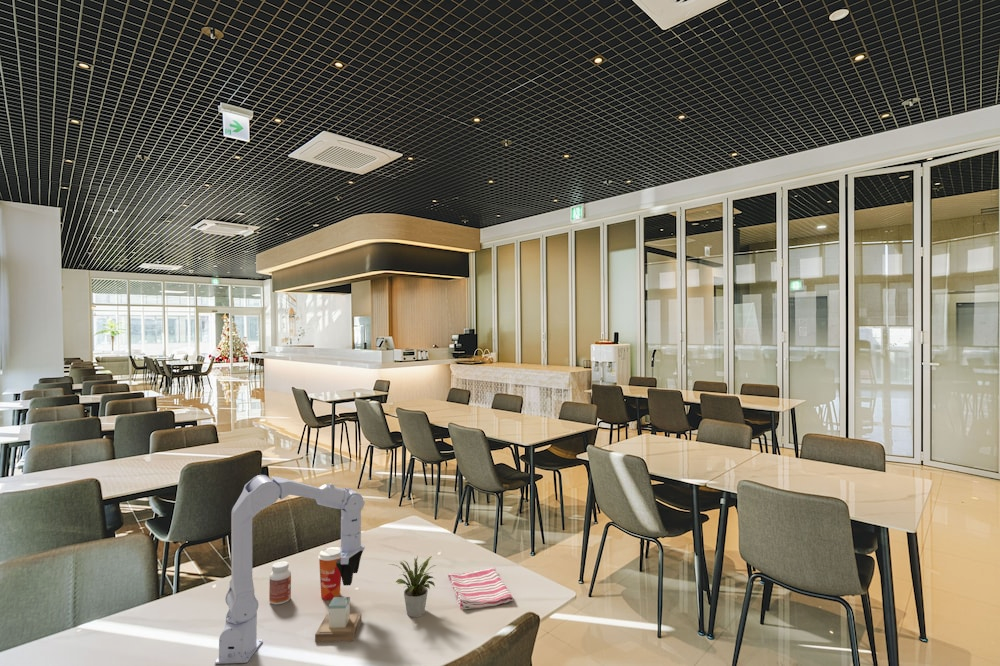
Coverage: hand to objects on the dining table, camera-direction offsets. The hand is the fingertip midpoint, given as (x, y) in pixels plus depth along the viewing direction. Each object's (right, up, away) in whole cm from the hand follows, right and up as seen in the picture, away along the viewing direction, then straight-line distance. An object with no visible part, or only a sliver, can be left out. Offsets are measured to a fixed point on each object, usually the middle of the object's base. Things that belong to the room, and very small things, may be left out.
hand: (350, 578), depth 148 cm
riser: (-1, -10, -9) cm, 13 cm away
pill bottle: (-25, -11, +8) cm, 28 cm away
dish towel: (+37, -12, +15) cm, 42 cm away
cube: (-1, -8, -9) cm, 12 cm away
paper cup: (-10, -11, +11) cm, 18 cm away
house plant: (+18, -11, 0) cm, 21 cm away
